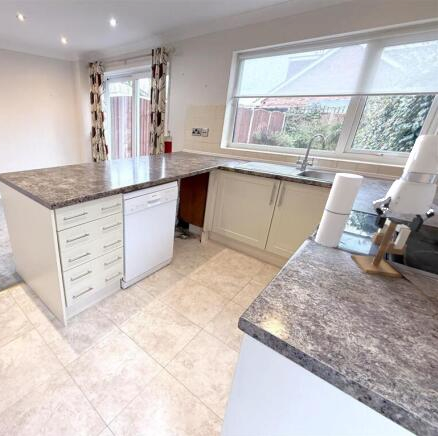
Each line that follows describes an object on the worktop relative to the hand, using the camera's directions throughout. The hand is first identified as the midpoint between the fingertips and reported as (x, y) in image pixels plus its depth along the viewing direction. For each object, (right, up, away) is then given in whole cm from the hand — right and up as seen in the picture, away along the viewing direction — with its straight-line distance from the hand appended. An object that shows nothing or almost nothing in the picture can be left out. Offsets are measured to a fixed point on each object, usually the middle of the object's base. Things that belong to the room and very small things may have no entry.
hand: (395, 228), depth 81 cm
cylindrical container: (-16, -6, +9) cm, 19 cm away
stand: (-12, -12, -5) cm, 17 cm away
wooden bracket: (0, -8, +4) cm, 9 cm away
